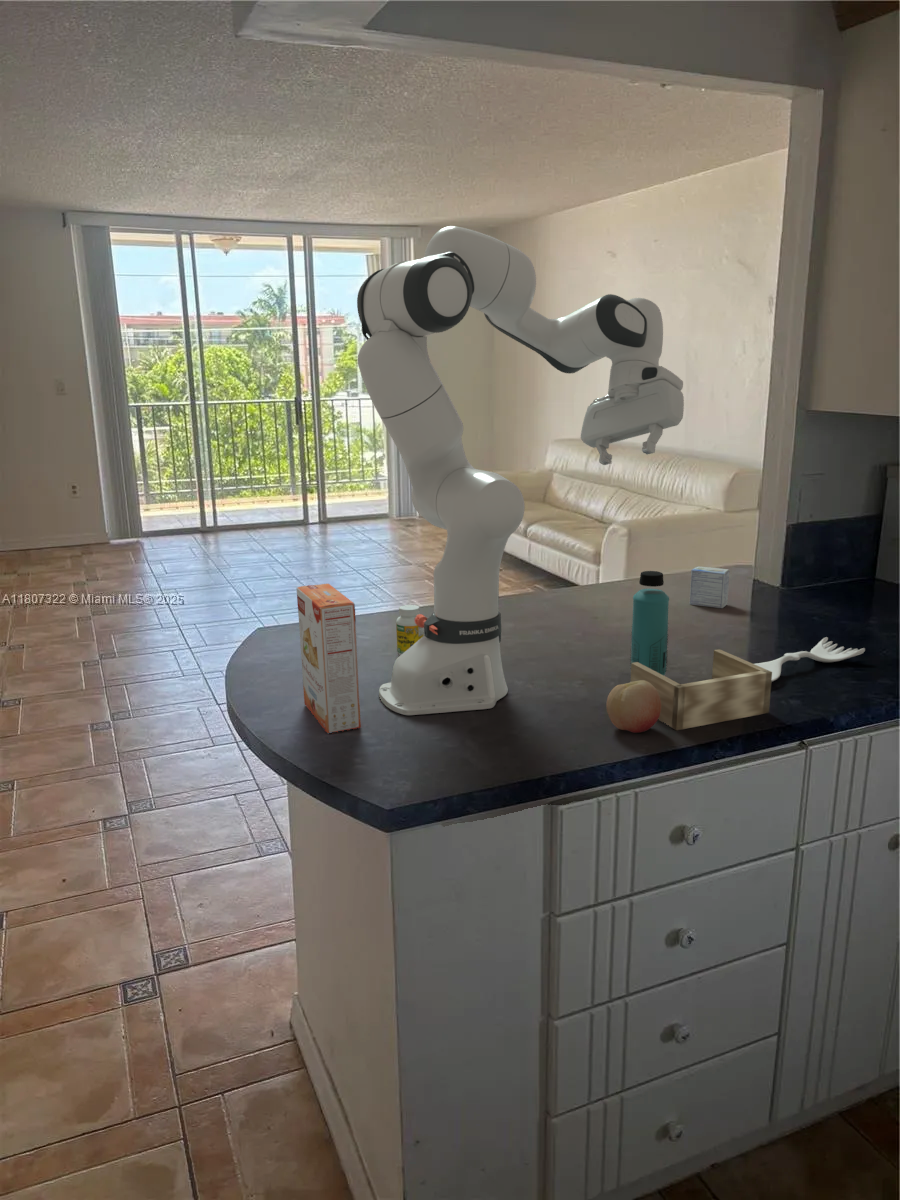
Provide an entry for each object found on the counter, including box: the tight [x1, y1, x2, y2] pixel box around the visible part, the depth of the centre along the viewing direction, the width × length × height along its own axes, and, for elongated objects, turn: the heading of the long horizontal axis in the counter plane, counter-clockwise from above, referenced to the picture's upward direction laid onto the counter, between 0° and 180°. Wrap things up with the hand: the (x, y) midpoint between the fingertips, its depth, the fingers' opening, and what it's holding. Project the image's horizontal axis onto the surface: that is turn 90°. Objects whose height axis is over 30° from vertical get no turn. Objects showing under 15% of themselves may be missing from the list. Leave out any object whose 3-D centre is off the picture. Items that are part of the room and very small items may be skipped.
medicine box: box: [689, 566, 730, 609], centre depth 207 cm, size 8×4×9 cm, turn 58°
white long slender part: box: [754, 636, 866, 683], centre depth 162 cm, size 9×32×4 cm, turn 120°
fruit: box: [605, 680, 661, 734], centre depth 135 cm, size 8×8×8 cm
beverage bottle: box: [629, 570, 670, 676], centre depth 155 cm, size 6×7×20 cm
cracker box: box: [296, 583, 362, 734], centre depth 140 cm, size 14×6×21 cm, turn 24°
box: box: [630, 649, 772, 731], centre depth 144 cm, size 18×13×7 cm
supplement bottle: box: [395, 604, 424, 656], centre depth 173 cm, size 5×5×10 cm
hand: (626, 458), depth 155 cm, fingers open, 8 cm apart
